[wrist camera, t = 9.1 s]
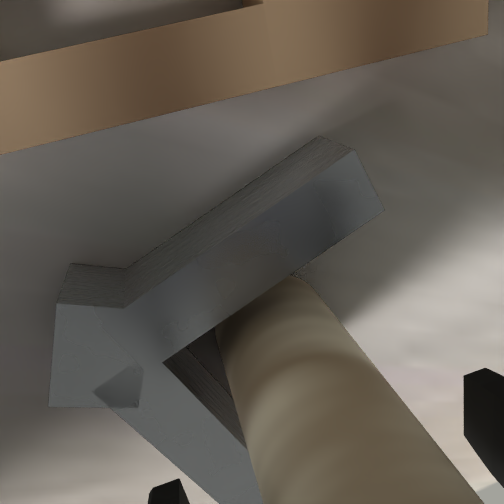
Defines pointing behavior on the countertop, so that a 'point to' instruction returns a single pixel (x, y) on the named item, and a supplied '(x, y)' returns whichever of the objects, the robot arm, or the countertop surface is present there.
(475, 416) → the robot arm
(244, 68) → the wooden board with cutouts
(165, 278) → the steel V-block
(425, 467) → the birch axle
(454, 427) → the countertop surface
